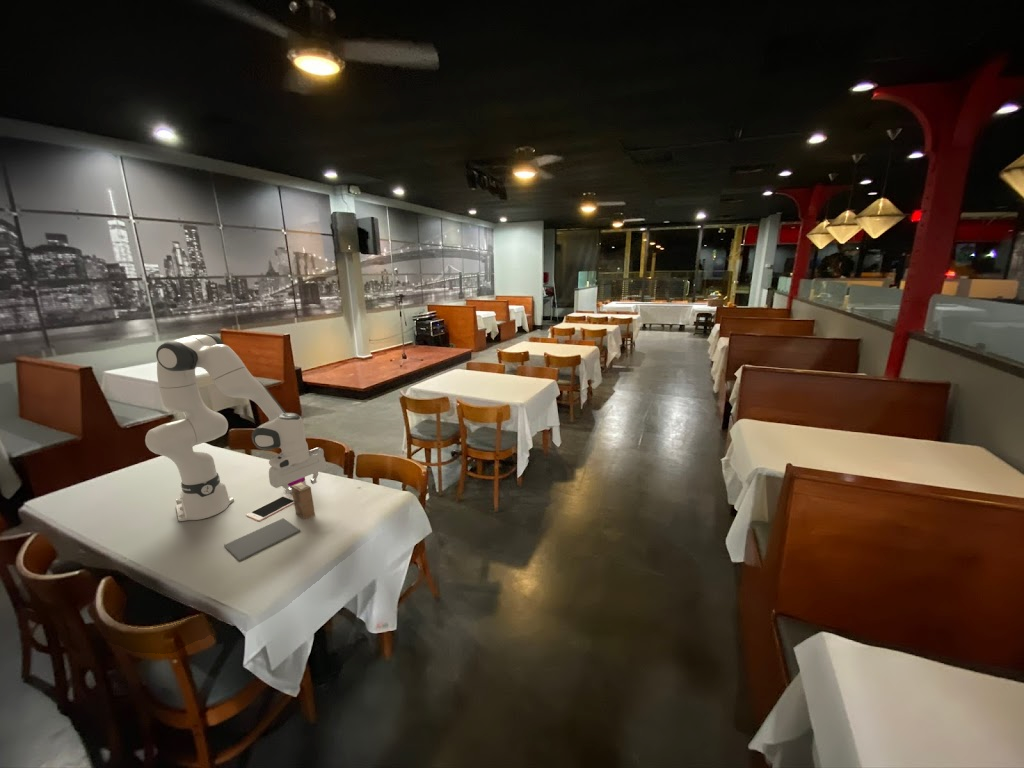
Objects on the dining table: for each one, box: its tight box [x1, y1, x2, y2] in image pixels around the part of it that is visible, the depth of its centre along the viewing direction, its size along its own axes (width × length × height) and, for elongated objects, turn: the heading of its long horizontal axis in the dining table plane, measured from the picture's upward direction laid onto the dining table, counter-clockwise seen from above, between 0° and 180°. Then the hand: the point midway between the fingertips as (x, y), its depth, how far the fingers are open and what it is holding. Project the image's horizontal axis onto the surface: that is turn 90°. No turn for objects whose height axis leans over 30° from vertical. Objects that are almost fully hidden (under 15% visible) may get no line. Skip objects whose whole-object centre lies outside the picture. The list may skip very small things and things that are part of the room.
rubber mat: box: [223, 517, 301, 562], centre depth 147 cm, size 13×20×1 cm, turn 143°
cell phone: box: [245, 493, 294, 522], centre depth 167 cm, size 9×18×1 cm, turn 152°
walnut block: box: [291, 482, 316, 520], centre depth 161 cm, size 7×4×12 cm, turn 53°
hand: (302, 488), depth 159 cm, fingers open, 8 cm apart
